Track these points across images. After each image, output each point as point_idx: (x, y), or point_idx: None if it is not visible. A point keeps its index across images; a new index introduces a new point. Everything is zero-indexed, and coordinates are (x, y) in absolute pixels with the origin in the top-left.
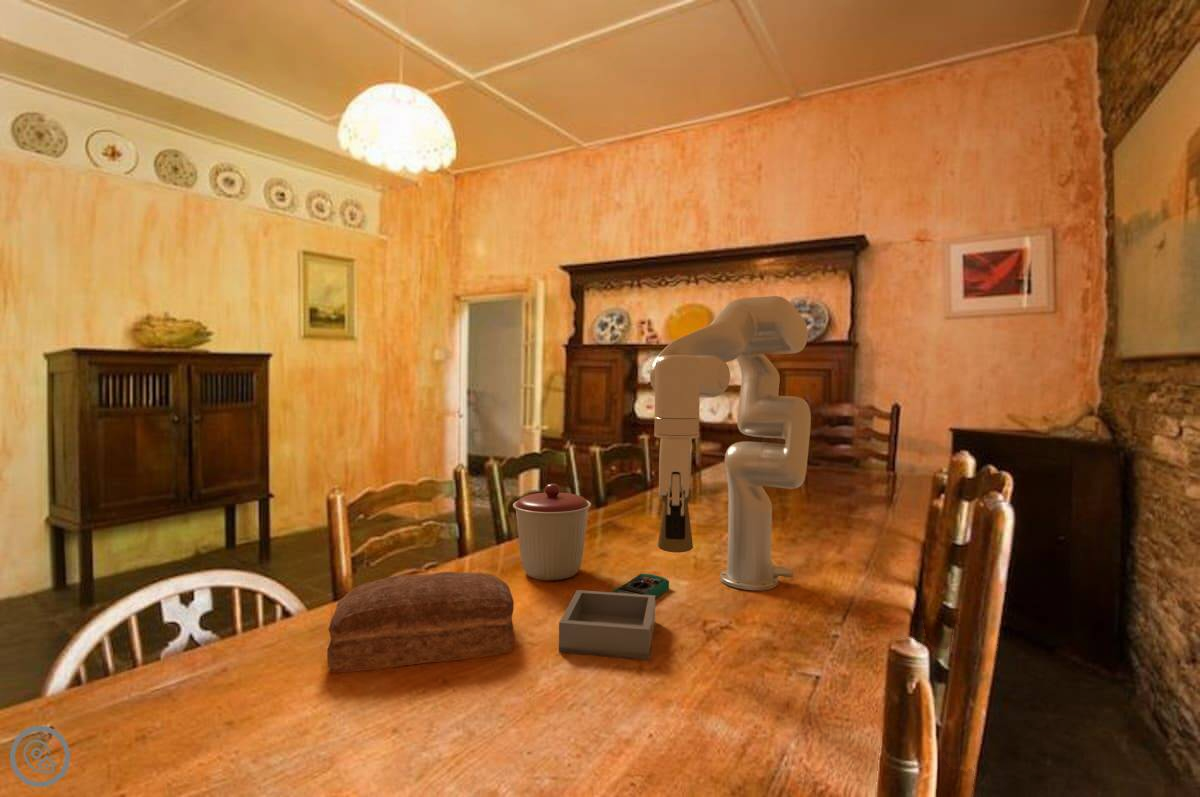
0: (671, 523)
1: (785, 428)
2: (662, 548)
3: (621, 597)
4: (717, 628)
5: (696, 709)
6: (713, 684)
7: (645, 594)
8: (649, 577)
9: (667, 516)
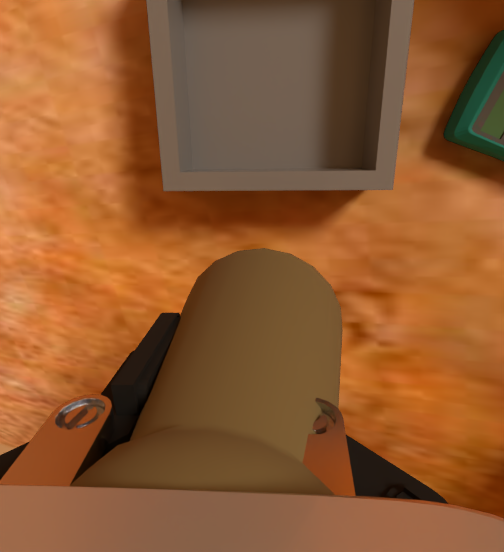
0: (110, 387)
1: None
2: (203, 273)
3: (382, 82)
4: (350, 317)
5: (46, 272)
6: (127, 299)
7: (500, 148)
8: None
9: (119, 388)
